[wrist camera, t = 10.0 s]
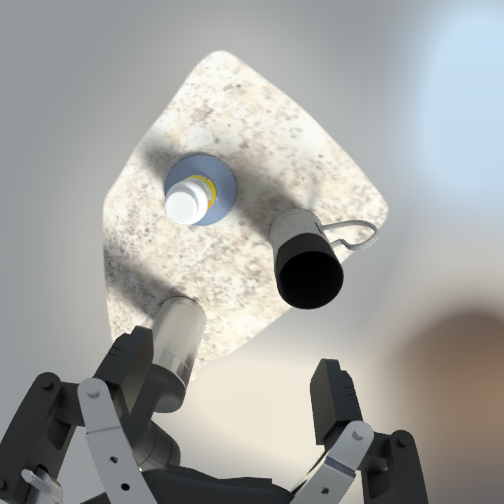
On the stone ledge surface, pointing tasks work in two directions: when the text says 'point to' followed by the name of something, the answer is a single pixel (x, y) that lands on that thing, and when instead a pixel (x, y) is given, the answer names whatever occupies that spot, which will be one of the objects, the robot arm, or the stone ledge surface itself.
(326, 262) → the tall grey black mug
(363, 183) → the stone ledge surface
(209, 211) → the coaster
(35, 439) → the robot arm
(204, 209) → the supplement bottle
